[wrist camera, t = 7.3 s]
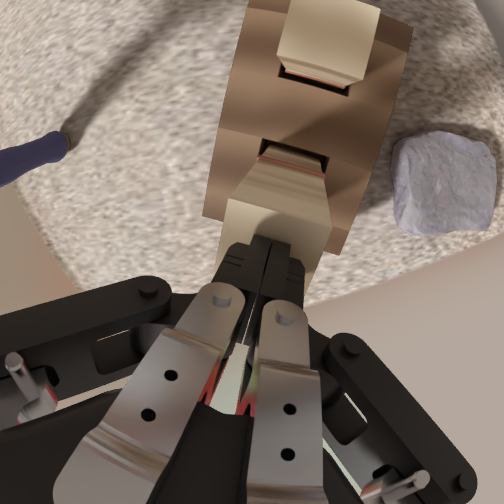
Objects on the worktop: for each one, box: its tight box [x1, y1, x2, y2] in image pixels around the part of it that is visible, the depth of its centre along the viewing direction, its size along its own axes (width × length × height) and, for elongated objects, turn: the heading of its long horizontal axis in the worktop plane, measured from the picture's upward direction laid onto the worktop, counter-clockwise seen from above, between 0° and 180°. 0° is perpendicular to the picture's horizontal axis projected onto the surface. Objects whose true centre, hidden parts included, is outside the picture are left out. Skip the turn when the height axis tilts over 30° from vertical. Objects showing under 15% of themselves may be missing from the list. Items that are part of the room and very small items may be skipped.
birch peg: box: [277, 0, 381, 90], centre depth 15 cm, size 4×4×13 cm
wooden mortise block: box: [202, 0, 413, 255], centre depth 22 cm, size 20×12×6 cm, turn 167°
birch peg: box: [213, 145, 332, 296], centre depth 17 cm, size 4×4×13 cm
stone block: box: [390, 130, 497, 236], centre depth 23 cm, size 12×5×10 cm
